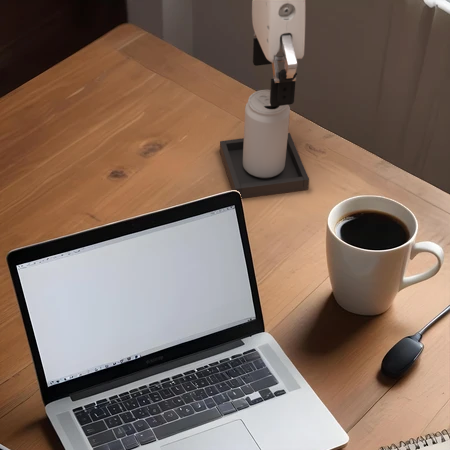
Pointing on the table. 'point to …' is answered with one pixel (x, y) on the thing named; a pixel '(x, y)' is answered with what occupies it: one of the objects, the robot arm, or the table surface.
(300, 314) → the table surface
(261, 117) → the beverage can
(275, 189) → the coaster
